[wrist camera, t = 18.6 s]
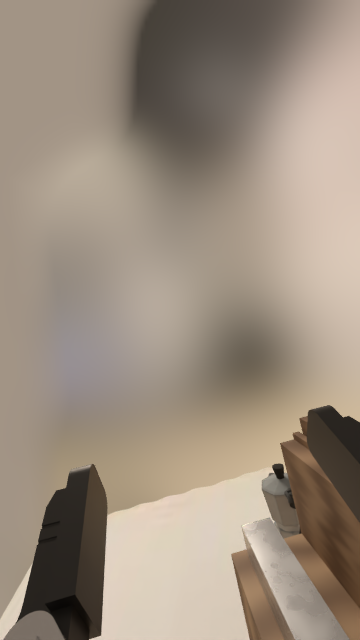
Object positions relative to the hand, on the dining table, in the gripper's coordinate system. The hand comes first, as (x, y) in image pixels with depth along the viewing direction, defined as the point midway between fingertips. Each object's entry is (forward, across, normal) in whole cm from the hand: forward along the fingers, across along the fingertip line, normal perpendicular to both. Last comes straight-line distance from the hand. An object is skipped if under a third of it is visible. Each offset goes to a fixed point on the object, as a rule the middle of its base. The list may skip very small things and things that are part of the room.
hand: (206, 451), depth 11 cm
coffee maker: (+20, -18, +62) cm, 67 cm away
